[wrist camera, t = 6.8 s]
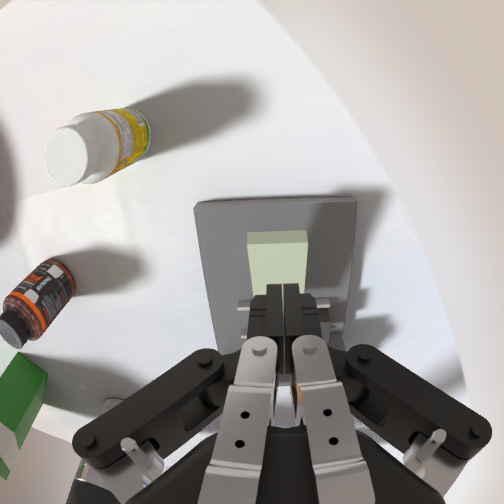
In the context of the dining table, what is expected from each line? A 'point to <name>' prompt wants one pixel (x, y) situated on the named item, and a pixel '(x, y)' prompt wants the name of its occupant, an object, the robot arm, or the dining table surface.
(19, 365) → the hardback book
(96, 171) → the supplement bottle
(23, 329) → the supplement bottle
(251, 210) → the panel
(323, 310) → the slider knob
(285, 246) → the rocker
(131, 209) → the dining table surface
